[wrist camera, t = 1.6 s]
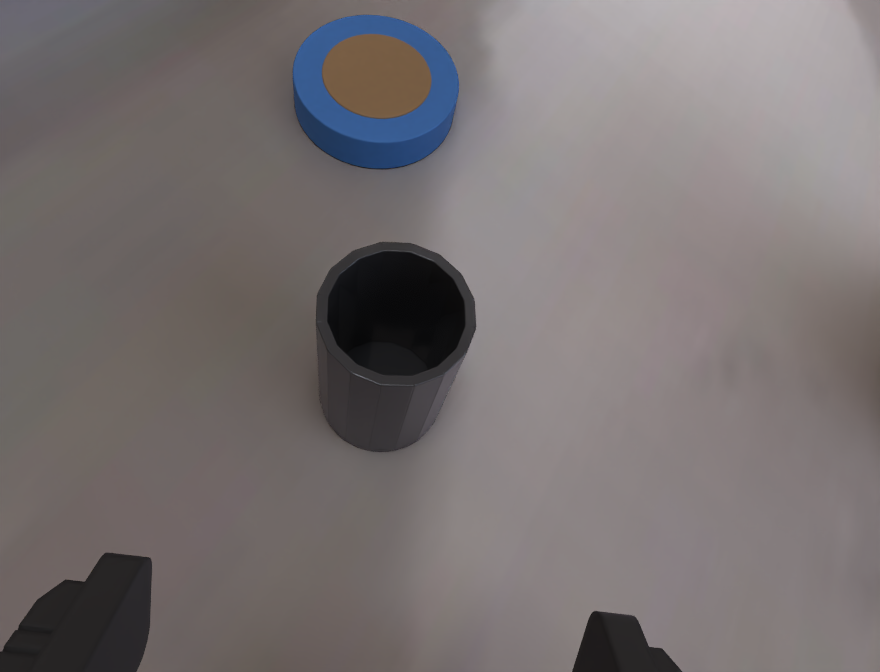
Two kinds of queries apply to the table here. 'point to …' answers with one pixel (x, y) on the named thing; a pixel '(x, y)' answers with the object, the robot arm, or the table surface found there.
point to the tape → (374, 91)
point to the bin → (390, 342)
